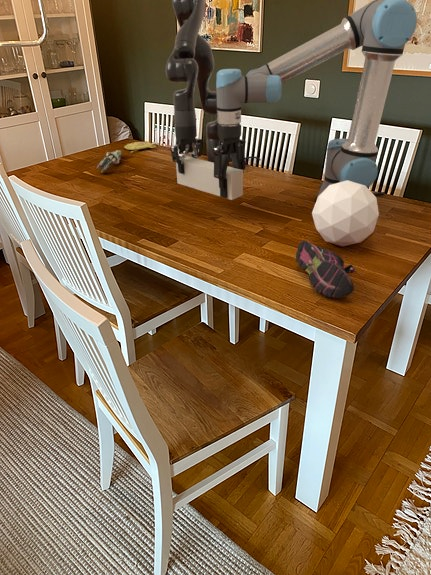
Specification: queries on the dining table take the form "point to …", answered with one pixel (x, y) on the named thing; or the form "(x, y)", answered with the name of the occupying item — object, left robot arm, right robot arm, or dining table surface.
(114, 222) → the dining table surface
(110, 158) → the figurine
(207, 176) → the bar
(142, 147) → the decorative object
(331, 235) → the sphere
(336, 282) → the athletic shoe
